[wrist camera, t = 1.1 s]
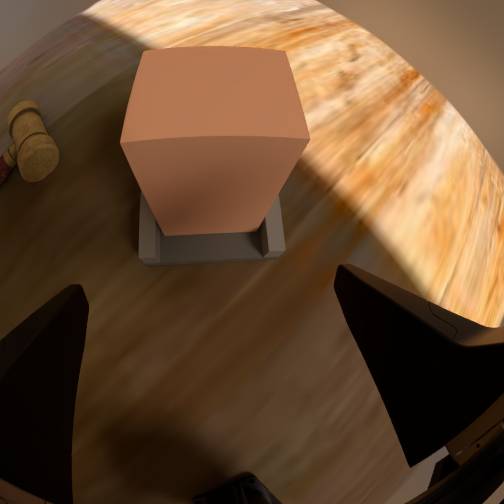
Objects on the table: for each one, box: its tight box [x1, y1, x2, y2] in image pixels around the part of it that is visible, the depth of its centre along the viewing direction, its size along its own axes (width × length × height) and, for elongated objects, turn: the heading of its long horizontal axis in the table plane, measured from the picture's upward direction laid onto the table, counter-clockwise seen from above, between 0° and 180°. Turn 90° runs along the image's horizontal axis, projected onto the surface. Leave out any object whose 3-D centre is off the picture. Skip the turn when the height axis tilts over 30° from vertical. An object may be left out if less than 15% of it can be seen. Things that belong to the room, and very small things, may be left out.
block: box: [120, 46, 310, 236], centre depth 15 cm, size 6×7×12 cm
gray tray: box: [139, 190, 286, 266], centre depth 21 cm, size 18×10×4 cm, turn 5°
